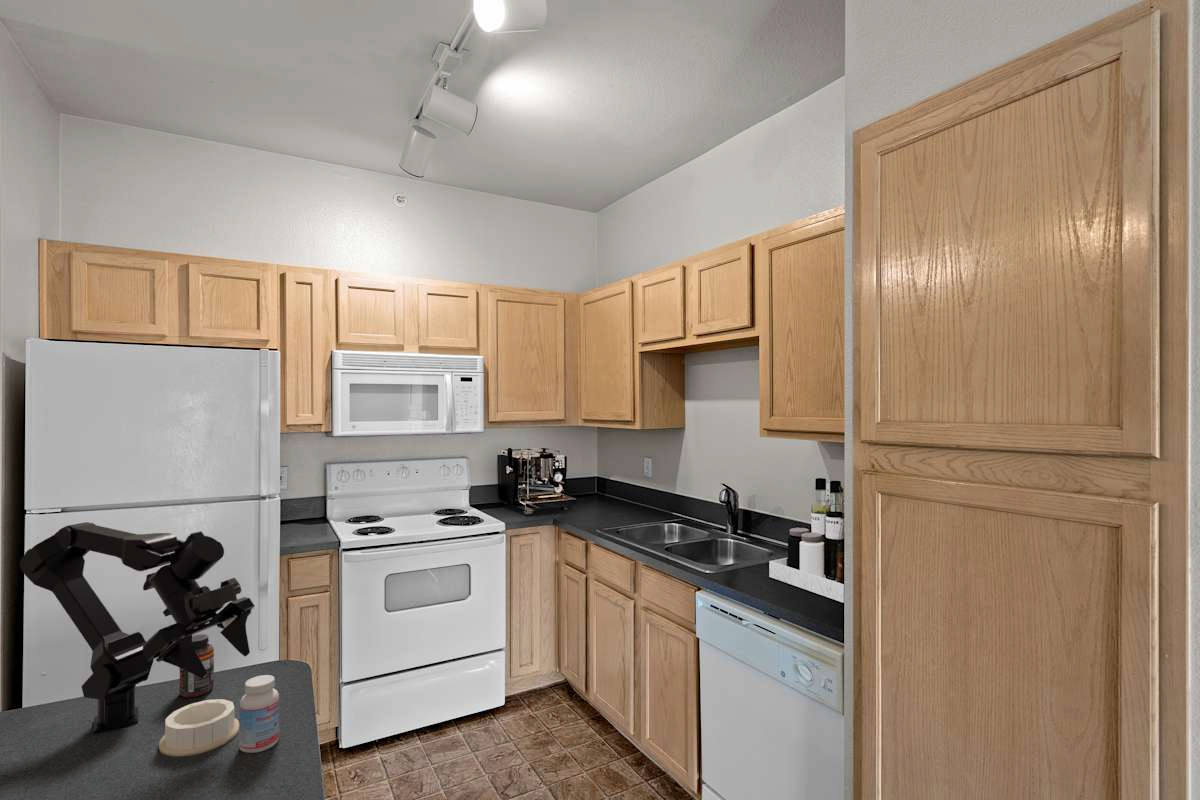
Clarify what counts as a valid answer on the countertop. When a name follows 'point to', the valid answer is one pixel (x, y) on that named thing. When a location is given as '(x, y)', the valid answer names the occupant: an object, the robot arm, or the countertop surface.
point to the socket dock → (199, 728)
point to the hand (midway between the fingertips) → (227, 665)
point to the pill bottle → (259, 715)
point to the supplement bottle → (205, 652)
